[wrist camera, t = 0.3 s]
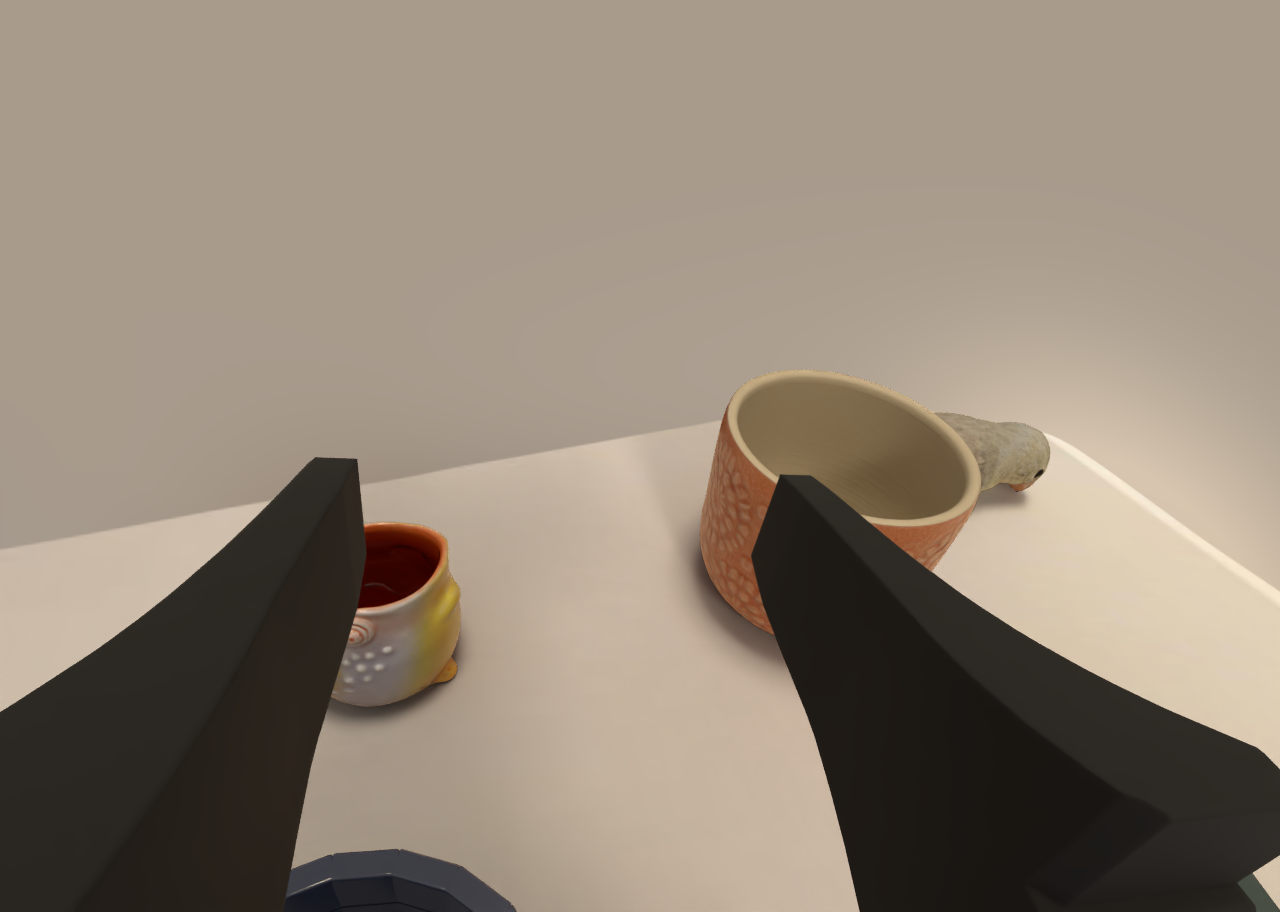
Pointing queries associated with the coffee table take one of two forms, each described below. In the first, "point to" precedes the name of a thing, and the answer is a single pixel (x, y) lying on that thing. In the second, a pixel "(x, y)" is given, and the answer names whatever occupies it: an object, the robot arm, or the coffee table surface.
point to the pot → (388, 885)
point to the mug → (401, 617)
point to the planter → (832, 470)
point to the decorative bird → (1002, 450)
